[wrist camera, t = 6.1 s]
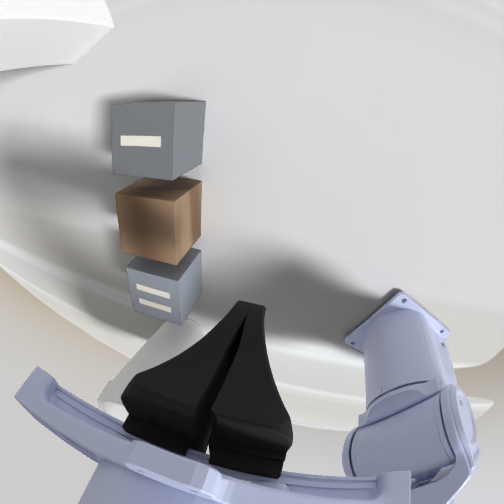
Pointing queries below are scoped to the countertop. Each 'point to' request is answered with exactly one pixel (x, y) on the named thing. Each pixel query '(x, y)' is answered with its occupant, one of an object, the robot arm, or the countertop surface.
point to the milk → (50, 31)
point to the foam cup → (149, 361)
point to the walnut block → (159, 218)
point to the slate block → (165, 286)
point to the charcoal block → (157, 138)
